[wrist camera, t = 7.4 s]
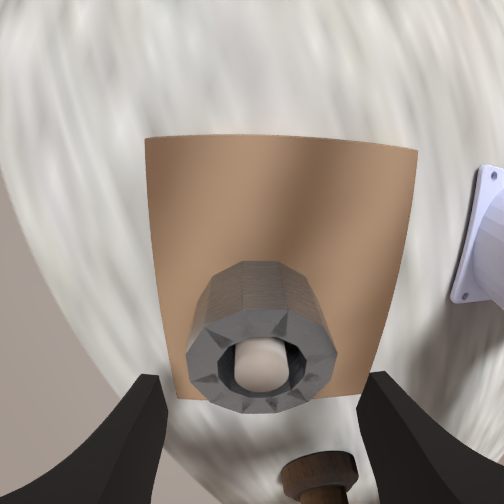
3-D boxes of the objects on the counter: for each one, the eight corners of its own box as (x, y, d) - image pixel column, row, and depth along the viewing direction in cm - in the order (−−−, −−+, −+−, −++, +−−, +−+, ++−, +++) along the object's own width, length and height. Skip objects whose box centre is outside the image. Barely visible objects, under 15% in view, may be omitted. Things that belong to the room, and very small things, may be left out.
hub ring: (324, 261, 13) (348, 308, 10) (309, 356, 15) (322, 410, 12) (195, 259, 13) (179, 308, 10) (202, 356, 15) (194, 411, 12)
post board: (407, 148, 12) (470, 165, 8) (357, 382, 18) (377, 439, 13) (152, 137, 12) (105, 147, 8) (180, 386, 17) (168, 448, 13)
